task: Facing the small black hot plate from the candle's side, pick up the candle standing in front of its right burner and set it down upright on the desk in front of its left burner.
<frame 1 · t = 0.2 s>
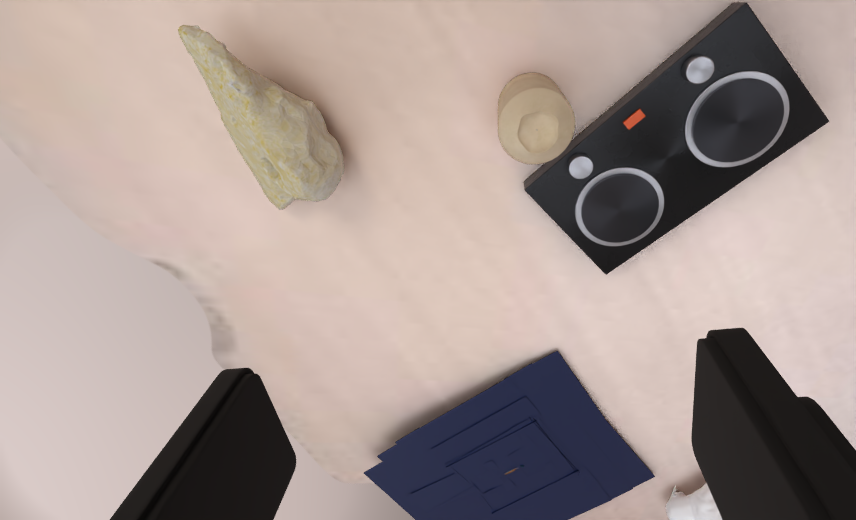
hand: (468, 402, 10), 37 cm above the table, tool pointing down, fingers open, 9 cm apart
hot plate: (658, 151, 43), on the table
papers: (504, 455, 64), on the table
candle: (529, 104, 43), on the table
cream lumpy piece: (275, 114, 46), on the table
crumpled paper: (705, 481, 62), on the table
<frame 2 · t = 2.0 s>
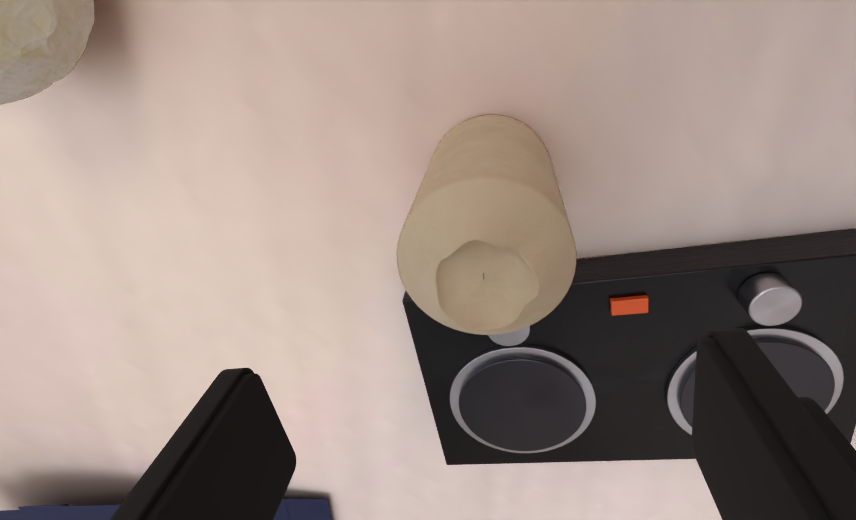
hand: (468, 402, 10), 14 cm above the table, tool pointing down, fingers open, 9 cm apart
hot plate: (620, 351, 26), on the table
candle: (489, 172, 22), on the table
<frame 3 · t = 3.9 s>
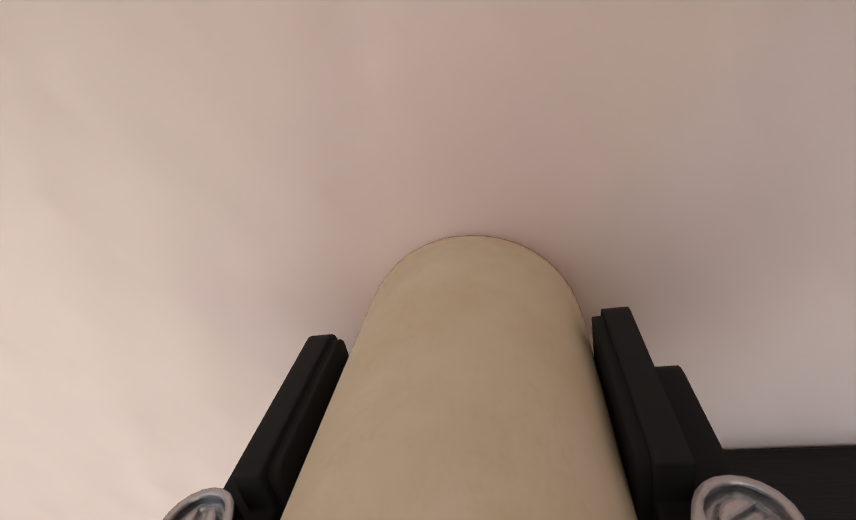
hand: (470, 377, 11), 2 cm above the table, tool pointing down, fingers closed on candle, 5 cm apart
candle: (474, 321, 13), on the table, touching gripper
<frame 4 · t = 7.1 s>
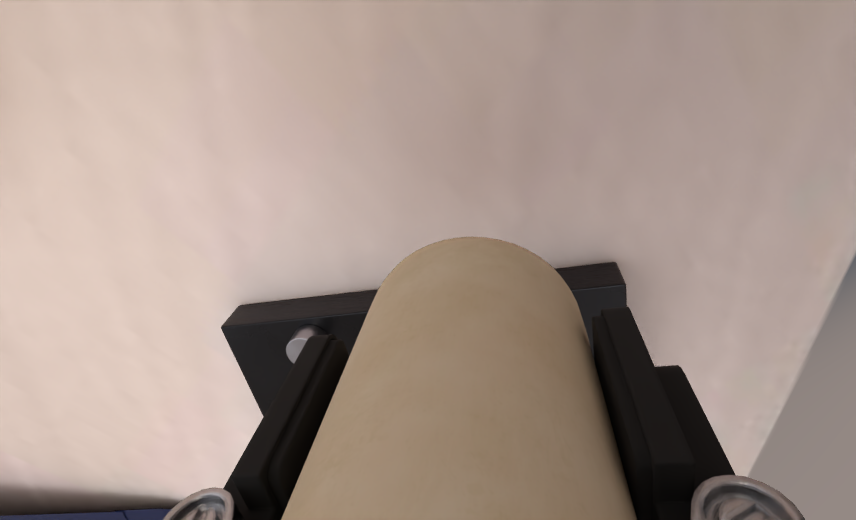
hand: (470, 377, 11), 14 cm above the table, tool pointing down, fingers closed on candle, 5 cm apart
hot plate: (433, 371, 29), on the table
candle: (474, 322, 13), point 11 cm above the table, touching gripper
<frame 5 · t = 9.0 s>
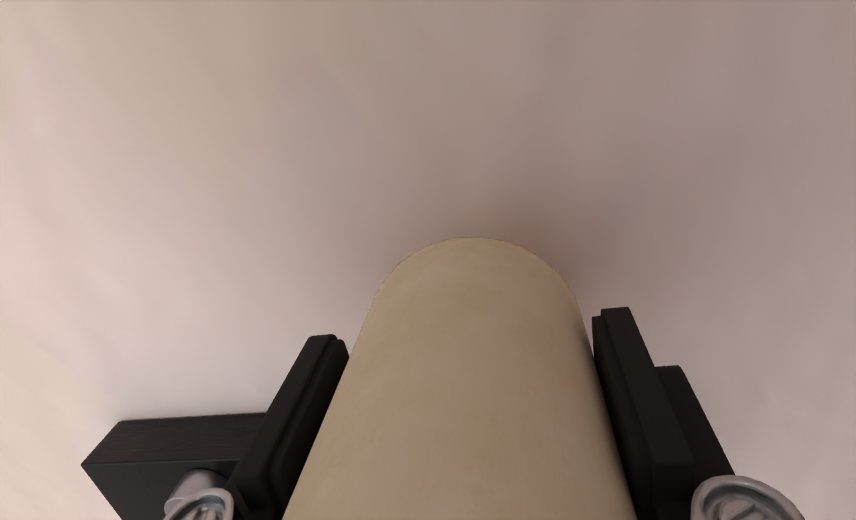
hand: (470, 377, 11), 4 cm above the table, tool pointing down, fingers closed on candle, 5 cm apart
hot plate: (390, 509, 21), on the table
candle: (474, 323, 13), point 2 cm above the table, touching gripper
when the fingers open (2 cm above the table, at t = 10.2 s): candle stays where it is, on the table.
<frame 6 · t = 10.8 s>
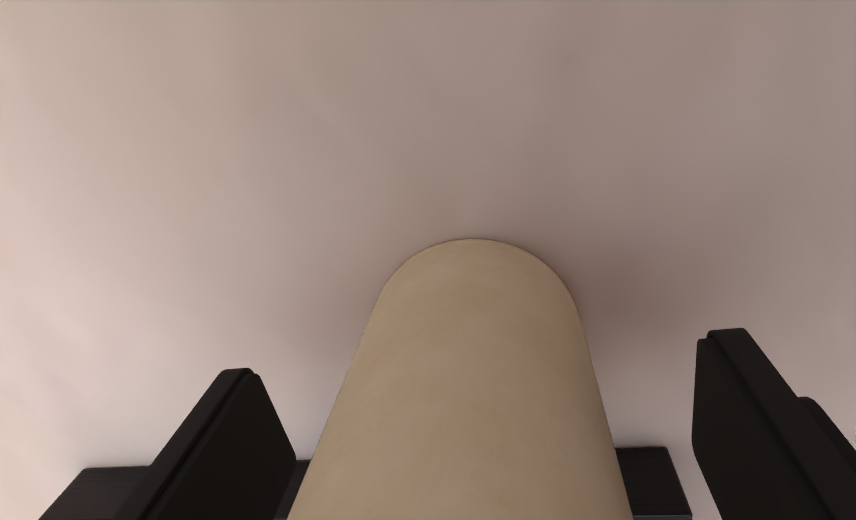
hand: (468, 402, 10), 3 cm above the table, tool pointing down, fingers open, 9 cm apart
candle: (474, 322, 13), on the table
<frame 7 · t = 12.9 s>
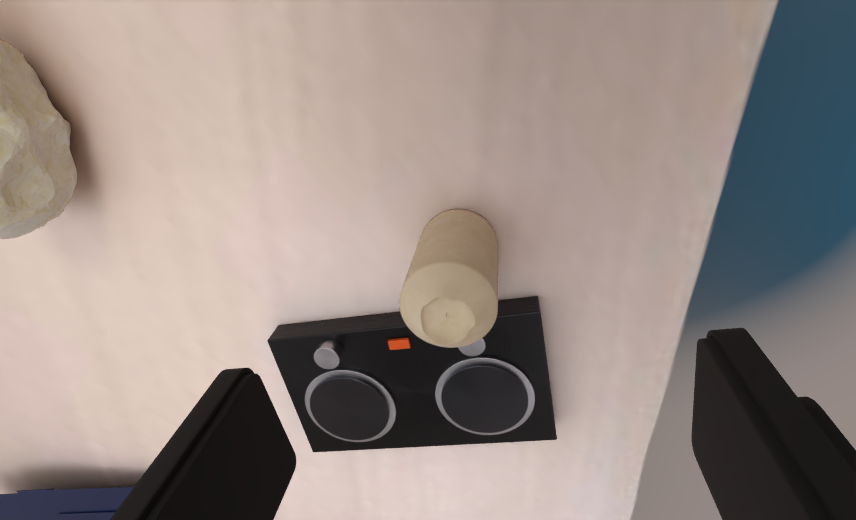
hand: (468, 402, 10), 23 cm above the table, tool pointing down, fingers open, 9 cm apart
hot plate: (417, 372, 40), on the table
candle: (459, 243, 35), on the table
cream lumpy piece: (19, 91, 34), on the table
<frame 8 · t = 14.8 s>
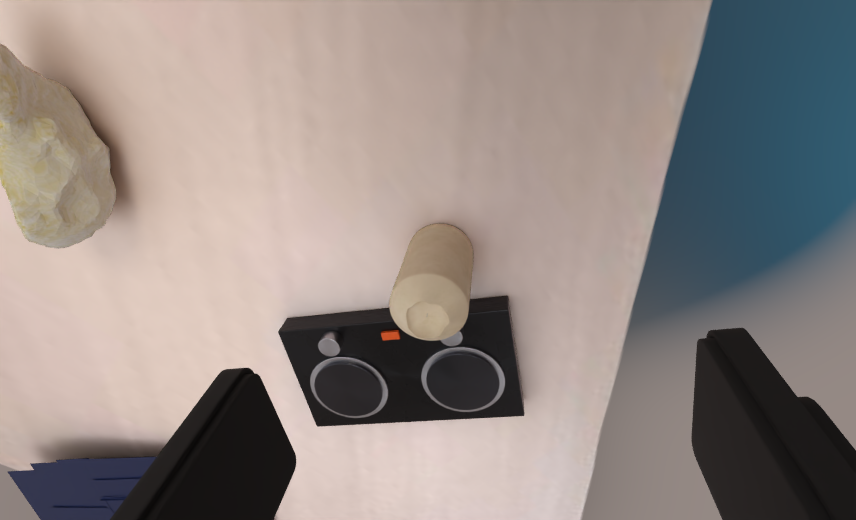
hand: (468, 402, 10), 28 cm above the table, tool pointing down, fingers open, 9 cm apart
hot plate: (406, 359, 47), on the table
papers: (170, 505, 64), on the table
candle: (441, 251, 41), on the table
cream lumpy piece: (65, 120, 40), on the table
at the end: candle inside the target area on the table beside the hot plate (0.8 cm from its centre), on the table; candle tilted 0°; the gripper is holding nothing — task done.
